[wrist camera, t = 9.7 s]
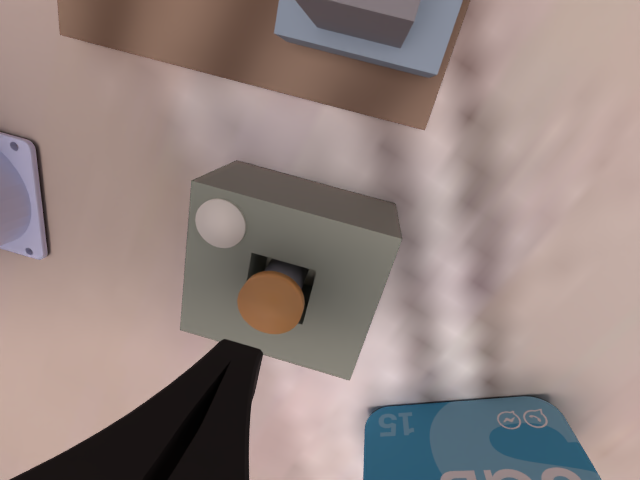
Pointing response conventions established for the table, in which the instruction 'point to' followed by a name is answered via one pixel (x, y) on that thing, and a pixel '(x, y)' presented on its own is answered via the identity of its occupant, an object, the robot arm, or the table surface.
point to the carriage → (373, 30)
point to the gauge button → (273, 298)
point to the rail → (253, 52)
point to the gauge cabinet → (292, 247)
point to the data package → (474, 442)
